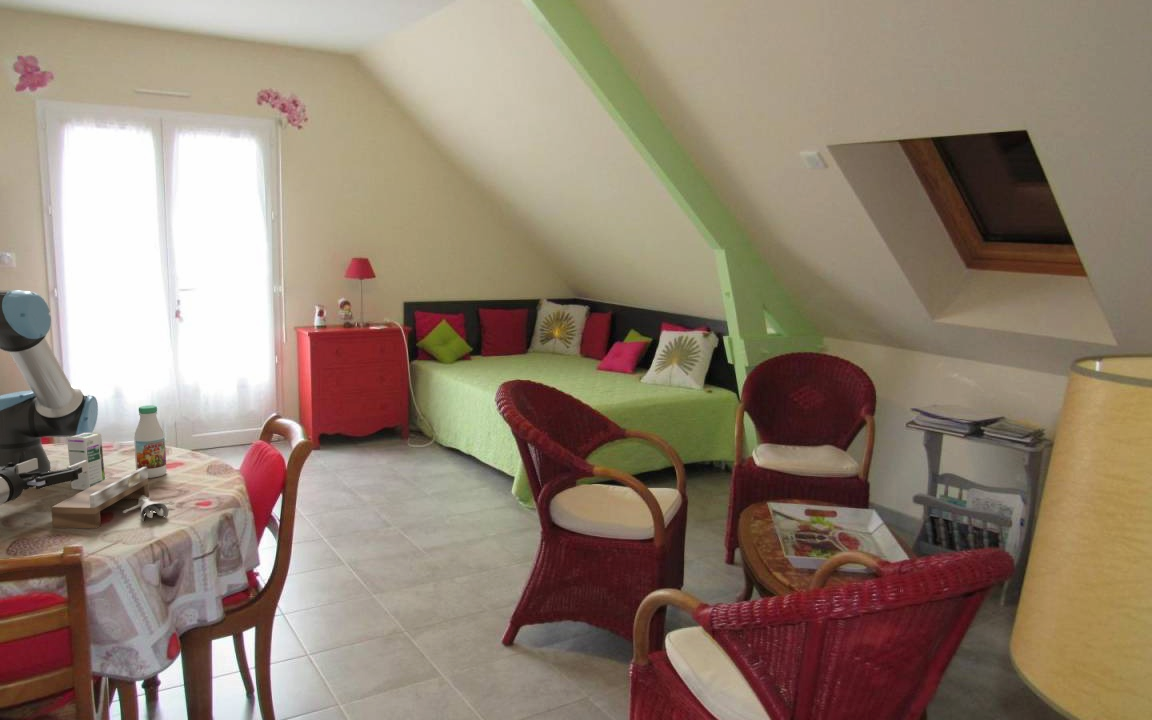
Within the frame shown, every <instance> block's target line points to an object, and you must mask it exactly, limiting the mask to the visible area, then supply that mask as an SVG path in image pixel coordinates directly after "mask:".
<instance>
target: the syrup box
mask: <svg viewBox="0 0 1152 720" xmlns="http://www.w3.org/2000/svg"><path fill="white" fill-rule="evenodd" d="M66 440H67V453H68V462H69V464H68V465H69V466H71V465H74V464H77V463H79V462H82V461H84V460H87V463H88V471H86V472H84V473H81V474H79V475H78V479H77V480H74V481H72V482H71V481H70V482H71V483H70V486H71V489H72V490H76V491H77V490H78V491H79V490H81V491H84V490H86V489H88V488H90V487H91V486H93V485H95V484H97V483H99V482H101V481H103V480H105V479H106V478H105V466H104V454H103V442H102V441H103V439H102V434H101V433H97V432H92V433H82V434H79V435H75V436H72V437H66Z"/></svg>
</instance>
